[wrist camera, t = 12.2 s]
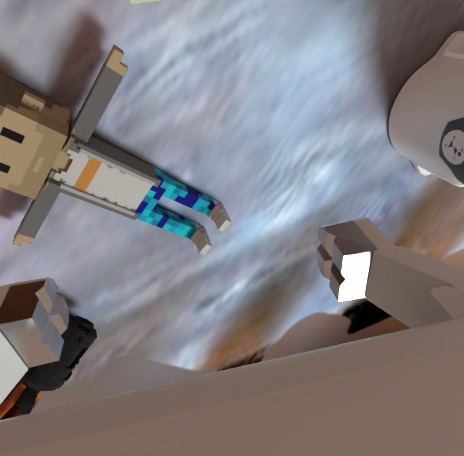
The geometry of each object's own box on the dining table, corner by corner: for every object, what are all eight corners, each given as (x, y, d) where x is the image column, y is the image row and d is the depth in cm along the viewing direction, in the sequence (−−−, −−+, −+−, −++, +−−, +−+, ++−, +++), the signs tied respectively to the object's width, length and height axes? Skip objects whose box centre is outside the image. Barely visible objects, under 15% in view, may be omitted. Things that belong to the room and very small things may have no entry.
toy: (166, 301, 53) (-88, 238, 36) (159, 265, 58) (-63, 196, 41) (279, 163, 43) (6, -14, 26) (257, 136, 49) (22, -24, 32)
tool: (97, 296, 65) (111, 343, 52) (16, 397, 63) (10, 471, 50) (57, 275, 60) (62, 320, 48) (-32, 384, 59) (-51, 460, 46)
